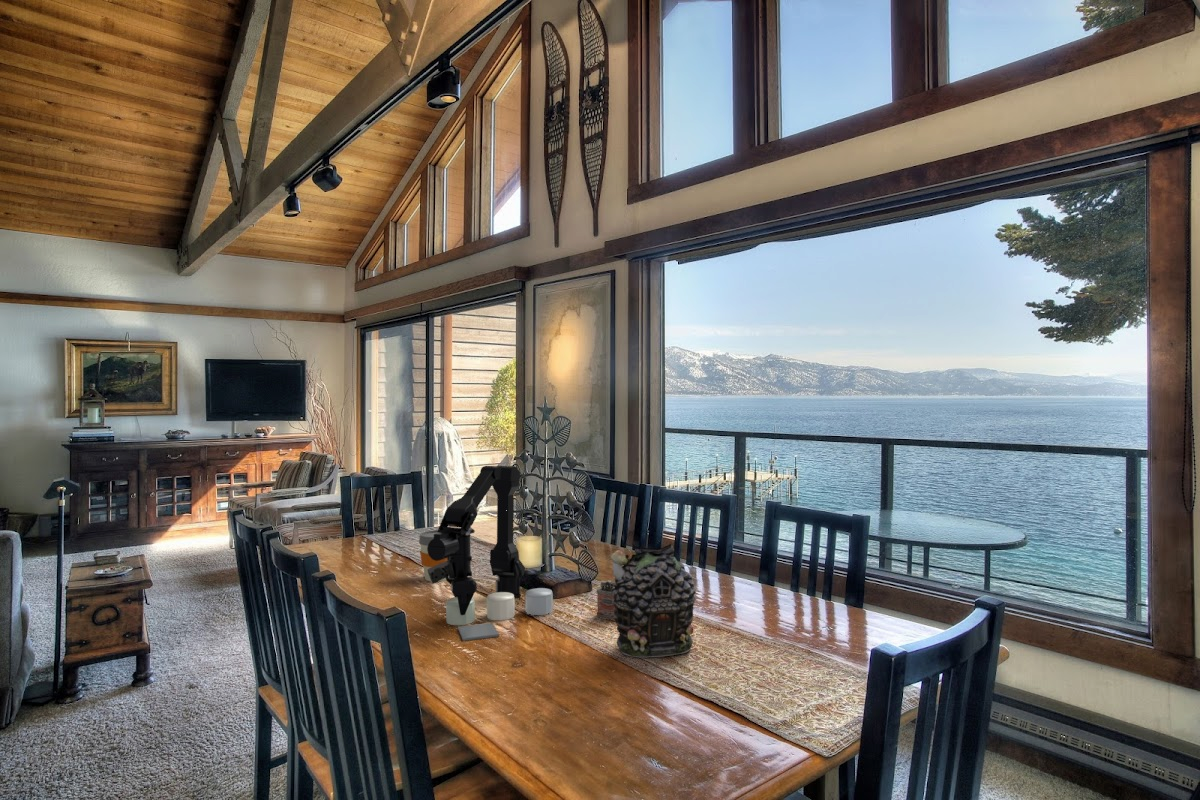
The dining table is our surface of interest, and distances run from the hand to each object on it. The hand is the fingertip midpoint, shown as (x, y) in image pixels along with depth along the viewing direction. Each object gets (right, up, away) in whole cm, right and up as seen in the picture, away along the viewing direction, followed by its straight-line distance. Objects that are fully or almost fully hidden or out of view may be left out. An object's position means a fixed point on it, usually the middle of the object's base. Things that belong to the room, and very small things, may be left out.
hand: (460, 609), depth 180 cm
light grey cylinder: (+21, -3, +7) cm, 22 cm away
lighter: (+41, -3, +2) cm, 41 cm away
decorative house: (+51, -3, -21) cm, 55 cm away
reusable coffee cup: (-16, -3, +43) cm, 46 cm away
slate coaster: (+7, -3, -9) cm, 12 cm away
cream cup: (+10, -3, +4) cm, 11 cm away
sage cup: (0, -3, 0) cm, 3 cm away
